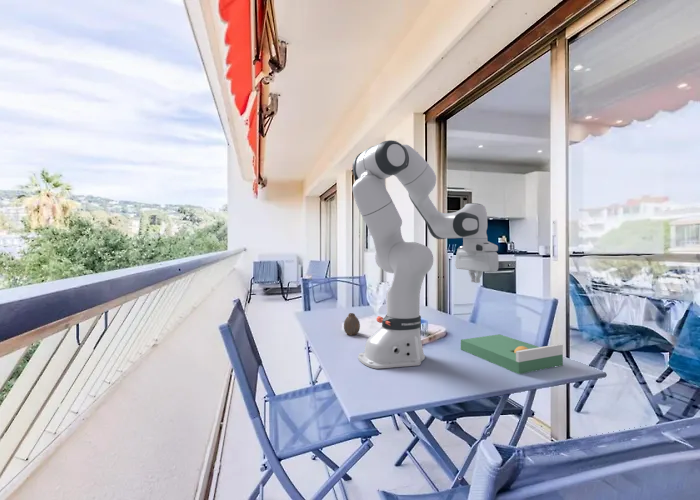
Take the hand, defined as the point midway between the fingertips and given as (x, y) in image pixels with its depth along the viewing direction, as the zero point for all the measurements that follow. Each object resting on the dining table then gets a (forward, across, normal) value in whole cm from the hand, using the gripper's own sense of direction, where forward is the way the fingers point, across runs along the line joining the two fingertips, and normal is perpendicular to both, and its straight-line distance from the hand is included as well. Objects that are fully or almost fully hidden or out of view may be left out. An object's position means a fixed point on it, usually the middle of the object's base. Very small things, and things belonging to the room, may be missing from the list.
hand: (475, 282), depth 137 cm
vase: (+23, -31, -39) cm, 55 cm away
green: (+23, +18, -2) cm, 29 cm away
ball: (+20, +24, -2) cm, 32 cm away
